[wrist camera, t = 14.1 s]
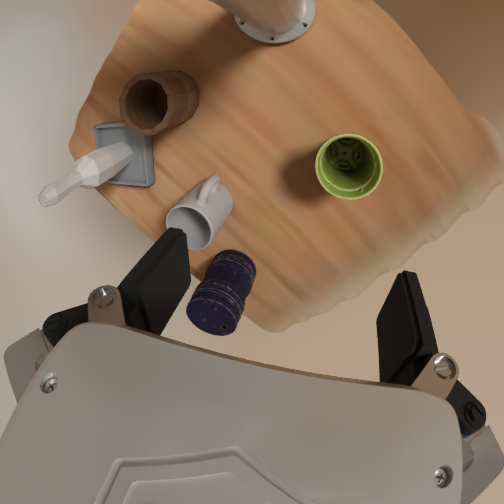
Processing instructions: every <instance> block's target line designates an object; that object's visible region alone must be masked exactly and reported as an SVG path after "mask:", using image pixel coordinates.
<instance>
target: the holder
mask: <svg viewBox="0 0 504 504" xmlns="http://www.w3.org/2000/svg"><path fill="white" fill-rule="evenodd" d="M159 84H161V85H162V87H163V89H164V91H165V93H166V94H167V101H168V110H167V112H166V114H165V116H163V115H161V114H160V113H159V111H158V110H157V108H156V106H155V97H154V94H155V91H156V89H157V87H158V85H159ZM198 106H199V89H198V87H197V85H196V83H195V82H194V80H193V78H192V77H190V76H188V75H186V74H185V73H183V72H181V71H171V72H151V73H144V74H137V75H136V76H135V77H134V78H132V79H131V80H130V81H129V82H128V83H127V84H126V85H125V87H124V89H123V92H122V94H121V97H120V114H121V117H122V119H123V120H124V122H125V124H126V126H127V128H129V129H130V130H132V131H134V132H135V133H137V134H138V135H155V134H157V133H160V132H162V131H165V130H167V129H169V128H172V127H174V126H177V125H180V124H182V123H183V122H185V121H186V120H188V119H190V118H191V117H192V116H193V114H194V113H195V111H196V109H197V107H198Z"/></svg>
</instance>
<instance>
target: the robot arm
mask: <svg viewBox="0 0 504 504" xmlns="http://www.w3.org/2000/svg"><path fill="white" fill-rule="evenodd" d="M209 1H211V2H213V3H215V4H217V5H219V6H220V7H222V8H223V9H225V10H227V11H228V12H230V13H231V14H233V15H234V18H235V21H236V23H237V25H238V27H239V28H240V29H241V30H242V31H243V32H244V33H245V34H247V35H248V36H250V37H251V38H253V39H255V40H258V41H261V42H265V43H272V44H277V43H285V42H290V41H292V40H295V39H297V38H299V37H301V36H302V35H304V34H305V33H306V32H307V31H308V30H309V29H310V27H311V26H312V24H313V22H314V20H315V16H316V6H315V1H314V0H209ZM243 22H244V25H242V23H243ZM304 25H306V26H307V27H303V26H304ZM271 38H274V40H271ZM190 282H191V275H190V265H189V255H188V245H187V235H186V233H184V232H183V230H182V229H179V228H173V227H169V228H168V229H167V230H166V231H165V233H164V234H163V235H162V236H161V237H160V238H159V239H158V240H157V241H156V242H155V244H154V245H153V246H152V247H151V248H150V249H149V250H148V251H147V253H146V254H145V255H144V256H143V257H142V258H141V259H140V261H139V262H138V263H137V264H136V265H135V266H134V268H133V269H132V270H131V271H130V272H129V274H128V275H127V276H126V277H125V278H124V279H123V281H122V282H121V283H120V285H119V286H118V287H117V288H116V287H114V286H110V285H106V286H101V287H98V288H97V289H95V290H93V291H92V293H91V294H90V296H89V297H88V303H86V304H83V305H80V306H77V307H74V308H71V309H67V310H64V311H61V312H58V313H55V314H52V315H51V316H50V317H48V318H47V319H46V321H45V322H44V324H43V329H42V330H40V329H39V328H38V329H36V330H34V331H33V332H31V333H29V334H28V335H26V336H25V337H23V338H21V339H20V340H18V341H16V342H15V343H13V344H12V345H10V346H9V347H8V348H7V350H6V351H5V354H4V362H5V366H6V369H7V373H8V376H9V380H10V383H11V386H12V389H13V392H14V395H15V398H16V400H17V406H16V408H15V410H14V412H13V414H12V416H11V418H10V420H9V422H8V424H7V426H6V428H5V430H4V432H3V434H2V437H1V439H0V504H470V503H472V502H473V500H475V499H476V498H477V497H478V496H479V495H480V494H481V493H482V492H483V491H484V490H485V489H486V488H487V487H488V486H489V485H490V484H491V483H492V482H493V480H494V479H495V478H496V477H497V476H498V475H499V474H500V472H501V471H502V470H503V467H504V455H503V453H502V451H501V449H500V447H499V444H498V442H497V440H496V438H495V436H494V434H493V433H492V431H491V429H490V427H489V426H487V427H486V426H485V421H486V411H485V408H484V406H483V405H482V404H481V403H480V402H479V401H478V400H477V399H476V398H475V397H474V396H473V395H472V394H471V393H470V392H469V391H468V390H467V389H466V388H465V387H464V386H463V385H462V384H461V383H460V382H459V381H458V380H457V378H458V375H459V368H458V365H457V363H456V361H455V360H454V359H453V358H452V357H451V356H450V355H448V354H446V353H439V352H438V348H437V344H436V339H435V335H434V330H433V326H432V322H431V318H430V315H429V311H428V308H427V306H426V304H425V300H424V297H423V293H422V290H421V287H420V284H419V281H418V277H417V274H416V273H414V272H409V271H403V272H402V273H399V274H398V275H397V277H396V279H395V281H394V284H393V286H392V288H391V290H390V292H389V294H388V296H387V298H386V300H385V302H384V304H383V307H382V309H381V310H380V313H379V314H378V317H377V322H376V324H377V337H378V350H379V351H378V352H379V373H380V382H373V381H365V380H358V379H351V378H343V377H336V376H329V375H322V374H317V373H310V372H305V371H300V370H294V369H289V368H284V367H279V366H274V365H269V364H264V363H259V362H255V361H250V360H246V359H242V358H238V357H234V356H230V355H226V354H222V353H218V352H214V351H211V350H207V349H203V348H200V347H196V346H192V345H189V344H186V343H182V342H179V341H175V340H172V339H169V338H165V337H162V336H160V335H161V333H162V331H163V329H164V328H165V326H166V324H167V323H168V321H169V319H170V318H171V316H172V314H173V312H174V311H175V309H176V308H177V306H178V304H179V302H180V301H181V299H182V298H183V296H184V294H185V292H186V291H187V289H188V288H189V286H190Z"/></svg>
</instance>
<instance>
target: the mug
mask: <svg viewBox="0 0 504 504" xmlns="http://www.w3.org/2000/svg"><path fill="white" fill-rule="evenodd" d="M220 182H221V176H220V175H218V174H214V175H212V176H210V177H209V178H208V179H207V180H206V181H202V182H200V183H199V184H197V185H196V186H195V187H194V188H193V189H192V190H191V191H190V192H189V193H188V194H187V195H185V196H184V197H183V198H182V199H181V200H180V201H179V202H178V203H177V204H176V205H175V206H174V207H173V208H172V209H171V210H170V211H169V213H168V214H167V217H166V228H167V229H168V228H169V227H173V228H179V229H182V230H183V232H184V233H186V235H187V245H188V250H201V249H203V248H205V247H207V246H208V245H209V244H210V243H211V241H212V240H213V238H214V237H215V235H216V234H217V232H218V231H219V229H220V228H221V226H222V225H223V223H224V222H225V220H226V219H227V218H228V216H229V215H230V213H231V211H232V209H233V198H232V195H231V193H230V191H229V190H228V189H227V188H226V187H225V186H224V185H223V184H221V183H220Z"/></svg>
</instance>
